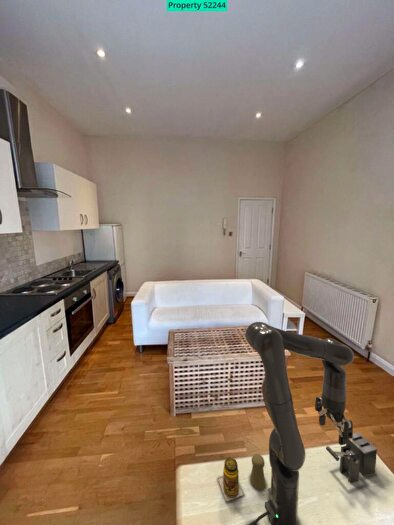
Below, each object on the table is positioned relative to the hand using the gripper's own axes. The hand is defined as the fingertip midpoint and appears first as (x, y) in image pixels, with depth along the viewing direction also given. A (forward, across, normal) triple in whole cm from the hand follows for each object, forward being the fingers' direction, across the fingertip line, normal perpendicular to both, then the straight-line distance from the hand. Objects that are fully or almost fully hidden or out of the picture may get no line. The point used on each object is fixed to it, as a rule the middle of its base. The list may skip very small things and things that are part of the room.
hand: (331, 433), depth 82 cm
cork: (+28, -13, -23) cm, 39 cm away
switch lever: (+17, -4, +10) cm, 20 cm away
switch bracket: (+28, -4, +15) cm, 32 cm away
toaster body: (+28, -6, +24) cm, 38 cm away
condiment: (+28, -14, -35) cm, 47 cm away
